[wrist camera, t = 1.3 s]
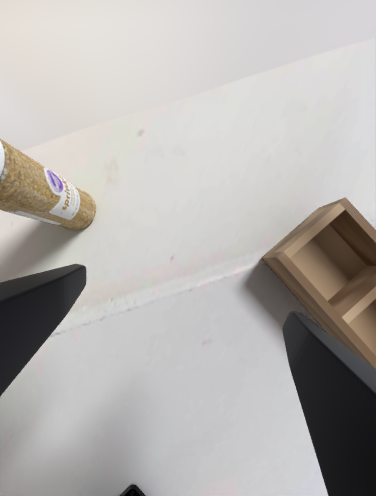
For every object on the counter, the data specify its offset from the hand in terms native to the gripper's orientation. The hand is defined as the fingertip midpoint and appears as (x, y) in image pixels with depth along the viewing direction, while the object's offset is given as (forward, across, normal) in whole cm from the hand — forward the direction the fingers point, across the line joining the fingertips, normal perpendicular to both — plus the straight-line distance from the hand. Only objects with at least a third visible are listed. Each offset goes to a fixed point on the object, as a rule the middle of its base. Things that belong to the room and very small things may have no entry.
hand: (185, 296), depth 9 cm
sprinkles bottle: (+14, +14, +2) cm, 20 cm away
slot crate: (+12, -20, +6) cm, 24 cm away
